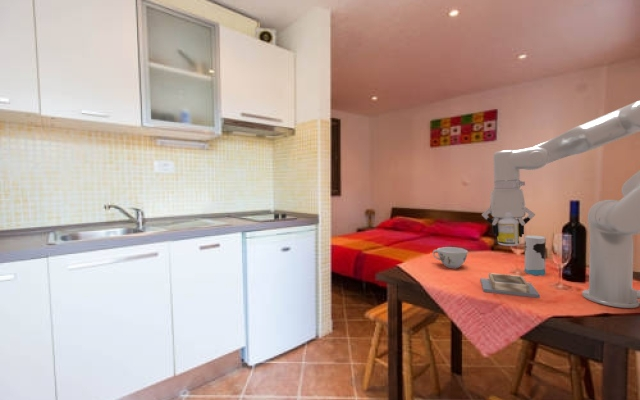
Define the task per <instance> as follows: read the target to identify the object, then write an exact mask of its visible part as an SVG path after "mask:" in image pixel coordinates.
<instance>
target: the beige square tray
mask: <svg viewBox="0 0 640 400" xmlns="http://www.w3.org/2000/svg"><path fill="white" fill-rule="evenodd" d="M488 279H489V282H490V284H491V287H492V289H495V290H504V291H514V292H523V293H529V285H528V283H529V282H527V281H526V279H525V278H524V277H523V276H522V275H514V274H504V273H503V274H502V273H491V272H488ZM495 281H503V282H513V283H520V284H513V283H503V282H495Z"/></svg>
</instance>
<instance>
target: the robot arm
mask: <svg viewBox="0 0 640 400" xmlns="http://www.w3.org/2000/svg"><path fill="white" fill-rule="evenodd" d="M637 133H640V99H639V100H637V101H635V102H634V101H633V102H632V103H629V104H627V105H625V106H623V107H620V108H617V109H616V110H613V111H611V112H609V113H605V114H603V115H601V116H598V117H596V118H594V119H592V120H590V121H587V122H585V123H582V124H580V125H577V126H574V127H573V128H571V129H568V130H567V131H565V132H563V133H561V134H559V135H558V136H555V137H553V138H551V139H548V140H547V141H544V142H541V143H539V144H537V145H534V146H530V147H526V148H522V149H520V148H519V149H504V150H498V151H495V153H493V187H494V189H492V190H491V192H490V199H489V200H490V201H489V207H488V208H487V209H486V210H485V211H484V212H483V213H481V217H483V218H484V220H486V221H487V222H488V223H490V224H491V226H492V234H493V235H494V236H495V237H496V238H497V236H498V226H497V221H498V219H499V218H505V217H506V216H505V214H506V213H511V214H512V216H511V217H512V218H515V219H517V220H518V221H519V238H522V237H523V235H525V226H526V224H528V222H530V221H531V219H533V218H534V217H535V216H536V214H535V212H533V211H531V210H530V209H529V208H528V207H526V203H525V195H524V191H523V189H522V188H521V187H522V186H526V182H525V181H522V180H521V178H520V170H525V171H533V170H534V171H535V170H539V169H542V168H544V167H545V166H546V165H548V164H551V163H553V162H556V161H558V160H562V159H564V158H567V157H571V156H574V155H580V154H583V153H586V152H589V151H592V150H595V149H597V148H600V147H602V146H605V145H608V144H610V143H613V142H616V141H619V140H620V139H624V138H627V137H629V136H631V135H634V134H637ZM621 194H622V196H623V197H622V198H621V199H620V200H619V199H618V200H616V199H604V200H600V201H598V202H596V203H594V204H592V206H591V207H590V208H589V210H588V213H587V225H588V231H589V232H588V233H589V269H588V270H589V271H588V275H589V276H588V277H589V278H588V289H584V290H582V292H581V293H582V294H581V295H582V297H584V299H587V300H589V301H590V302H593V303H596V304H601V305H603V306H609V307H614V308H621V309H622V308H623V309H634V308H639V306H640V301H639V300H640V289H635V288H633V275H634V273H633V272H634V271H633V270H634V238H633V236H634V235H639V234H640V169H639V170H638V171H637V172H635V173H634V174H633V175H632V176H631V177H630V178H628V179H627V180H626V181H625V182H623V185H622V186H621ZM489 214H490V216H492V217H493V218H491V217H489ZM526 214H527V216H526Z"/></svg>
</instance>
